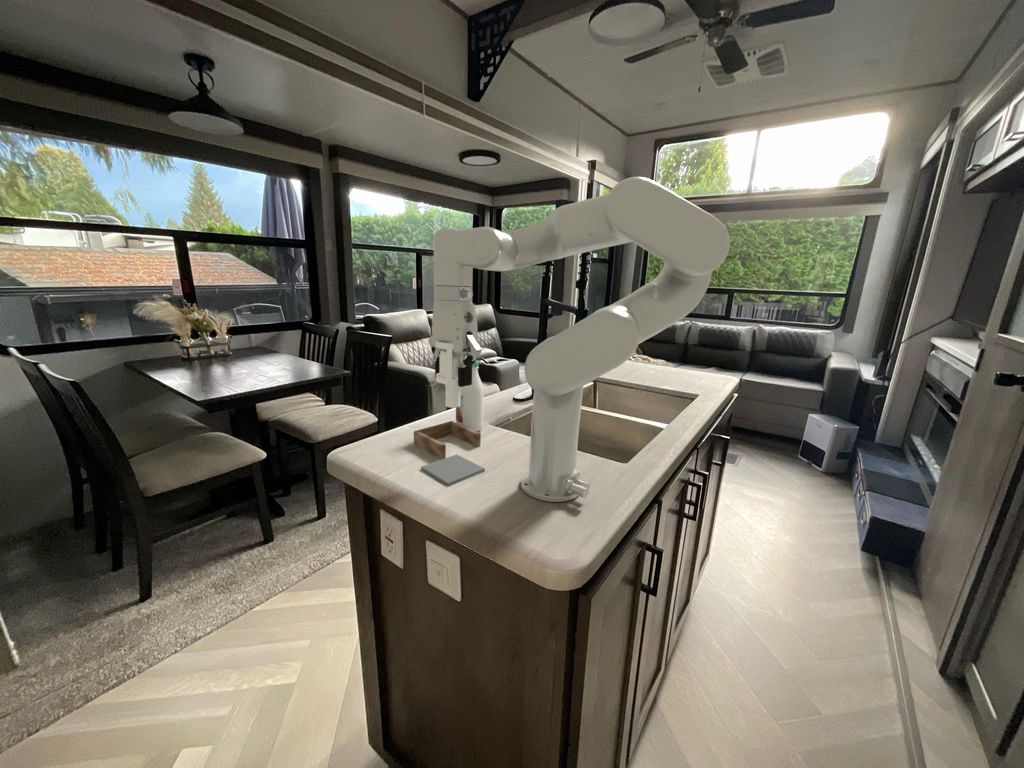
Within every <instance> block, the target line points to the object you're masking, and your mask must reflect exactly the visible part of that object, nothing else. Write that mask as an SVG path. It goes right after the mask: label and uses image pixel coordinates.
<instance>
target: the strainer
mask: <svg viewBox="0 0 1024 768" xmlns="http://www.w3.org/2000/svg"><path fill="white" fill-rule="evenodd" d="M436 347H438V348H443V349H447V352H446V351H440V373H438V374H436V378H435V382H436V383H439V384H443V385H445V406H446V407H447V408H455V409H456V407H459V406H460V387H459V386H458V367H461V366H460V363H459V360H458V356H457V354H454V353H453V352H452V349H454V348H453V344H452V343H443V342H439V341H438V340H436ZM465 348H468V344H467V343H466V344H465V347H463V349H465ZM463 351H465V350H463ZM466 358H467V357H466V355H464V360H465V359H466Z"/></svg>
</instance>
